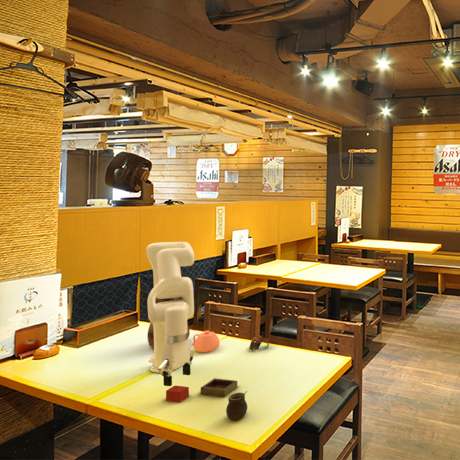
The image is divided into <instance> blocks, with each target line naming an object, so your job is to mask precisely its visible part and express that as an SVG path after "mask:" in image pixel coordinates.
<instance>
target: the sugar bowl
mask: <svg viewBox="0 0 460 460" xmlns="http://www.w3.org/2000/svg"><path fill="white" fill-rule="evenodd" d="M192 340H193V342H192V343H191V345H192V347H193V349H195V351H196V352H198V353H211V352H212V351H214V350H216V349H217V348H218V347H219V346H220V338H219V337H218V335H217V334H216V333H215V332H214V331H210V330H204V331H203V332H201V333H196V334H193V336H192Z"/></svg>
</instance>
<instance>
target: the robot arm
mask: <svg viewBox="0 0 460 460" xmlns="http://www.w3.org/2000/svg"><path fill="white" fill-rule="evenodd" d="M145 249H146V250H145V251H146V257H147V260H148V262H149V264H150V267H151V268H152V274H153V288H151V290H150V292H149V293H148V297H147V300H146V301H147V303H146V304H147V305H146V306H147V316H148V321H149V323H153V329H154V347H153V356H151V357H150V358H149V359H148V361H147V362H148V363H151V364H152V365H151V366H150V371H151V372H152V373H159V374H160V375H161V376H162V377H163V386H164V387H173V375H172V373H173V371H174V370H177V369H179V368H180V367H181V366H182V375H183V376H190V375H191V374H192V373H191V365H192V361H193V360H194V354H195V351H194V350H193V351H192V350H191V347H190V341H189V340H190V339H189V338H188V332H187V324H188V319H192V317H193V316H194V315H195V296H194V284H193V281H192V279H191V277H188V276H182V271H181V267H191V266H193V265H194V263H195V259H196V258H195V253H194V249H193V247H192V245H191V244H190V243H189V242H187V241H168V242H167V241H164V242H163V241H162V242H153V243H150V244H148V245H147V246H146V248H145ZM176 297H180V298H182V299H181V300H175V301H173V300H170V301H166V302H160V303H157V302H156V298H158V299H167V298H170V299H171V298H176Z"/></svg>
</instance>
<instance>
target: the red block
mask: <svg viewBox="0 0 460 460" xmlns="http://www.w3.org/2000/svg"><path fill="white" fill-rule="evenodd" d="M189 397H190V386H185V385H184V386H183V385H172V386H170V387H169V388H168V389H166V390H165V401H167V402H175V403H182V402H183V401H185V400H186V399H187V398H189Z"/></svg>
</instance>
